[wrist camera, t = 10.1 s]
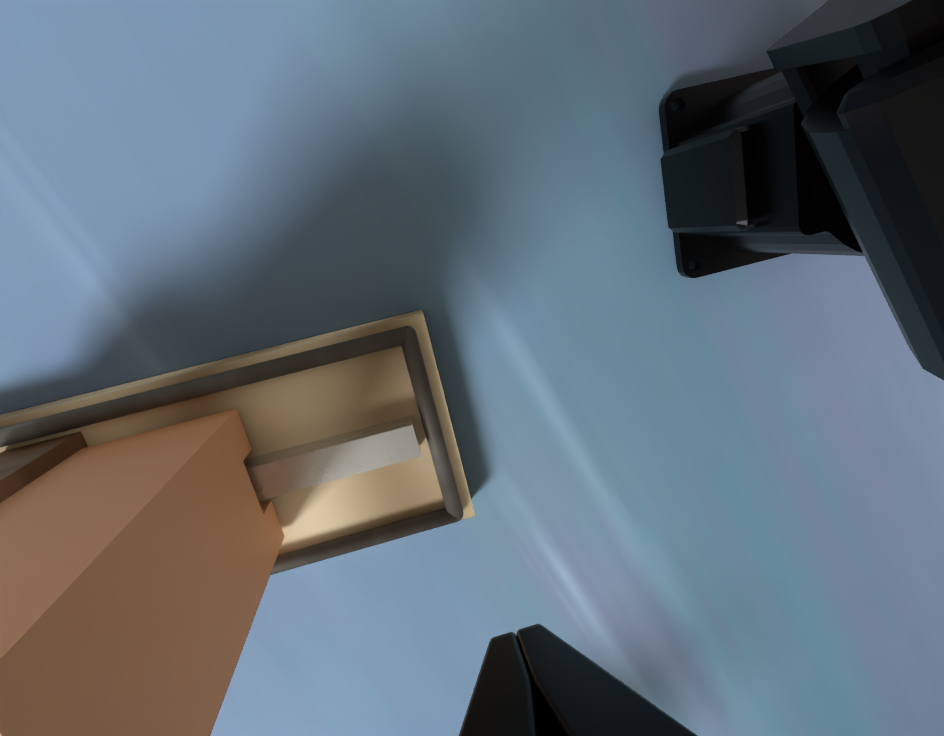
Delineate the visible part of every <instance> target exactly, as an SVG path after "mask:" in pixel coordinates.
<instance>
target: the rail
mask: <svg viewBox="0 0 944 736" xmlns="http://www.w3.org/2000/svg"><path fill="white" fill-rule="evenodd" d="M417 457H421V448H420V443H419V439H418V436H417V432H416V429H415V425H414V421H413V418H412V415H410V416H406V417H402V418H399V419H395V420H391V421H387V422H384V423H380V424H376V425H372V426H369V427H365V428H361V429H357V430H354V431H350V432H346V433H342V434H338V435H335V436H331V437H327V438H323V439H320V440H316V441H312V442H308V443H305V444H301V445H297V446H293V447H290V448H286V449H282V450H278V451H275V452H271V453H267V454H263V455H260V456H256V457H252V458H248V459H245V460H244V461H243V462H244V465H245V467H246V470H247V472H248V475H249V478H250V480H251V483H252V485H253V488H254V491H255V493H256V496H257V498H258V501H260V500H264V499H267V498H271V497H275V496H278V495H282V494H286V493H289V492H293V491H297V490H300V489H304V488H308V487H311V486H315V485H319V484H322V483H326V482H330V481H333V480H337V479H341V478H344V477H348V476H352V475H355V474H359V473H362V472H366V471H370V470H373V469H377V468H381V467H384V466H388V465H392V464H395V463H399V462H403V461H406V460H410V459H414V458H417Z"/></svg>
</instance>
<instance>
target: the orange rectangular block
mask: <svg viewBox="0 0 944 736" xmlns="http://www.w3.org/2000/svg"><path fill="white" fill-rule="evenodd" d="M250 451H251V446H250V443H249V441H248V438H247V435H246V433H245V430H244V428H243V425H242V422H241V420H240V417H239V414H238V412H237V409H233V410H230V411H226V412H222V413H218V414H214V415H210V416H206V417H202V418H198V419H195V420H191V421H187V422H183V423H179V424H175V425H171V426H167V427H164V428H160V429H156V430H152V431H148V432H144V433H140V434H136V435H133V436H129V437H125V438H121V439H117V440H113V441H109V442H105V443H101V444H98V445H94V446H90V447H86V448H82V449H81V450H79V451H78V452H76V453H75V454H73V455H72V456H70V457H68V458H67V459H65V460H64V461H62V462H61V463H59V464H58V465H56V466H55V467H53V468H52V469H50V470H49V471H47V472H46V473H44V474H43V475H41V476H40V477H38V478H37V479H35V480H34V481H32V482H31V483H29V484H28V485H26V486H25V487H23V488H22V489H20V490H19V491H17V492H16V493H14V494H13V495H11V496H10V497H8V498H7V499H5V500H4V501H2V502H1V503H0V736H210V735H211V732H212V729H213V726H214V724H215V721H216V718H217V716H218V713H219V710H220V708H221V705H222V702H223V700H224V697H225V694H226V692H227V689H228V686H229V684H230V681H231V678H232V676H233V673H234V670H235V668H236V665H237V662H238V660H239V657H240V654H241V652H242V649H243V646H244V644H245V641H246V638H247V636H248V633H249V630H250V628H251V625H252V622H253V620H254V617H255V614H256V612H257V609H258V606H259V604H260V601H261V598H262V596H263V593H264V590H265V587H266V585H267V582H268V579H269V577H270V574H271V571H272V569H273V566H274V563H275V561H276V558H277V555H278V553H279V550H280V547H281V545H282V542H283V539H284V537H285V536H284V533H283V531H282V528H281V525H280V523H279V520H278V517H277V515H276V512H275V509H274V507H273V504H272V502H271V500H269V501H266V502H262V503H259V501H258V498H257V496H256V493H255V491H254V488H253V485H252V483H251V480H250V478H249V475H248V472H247V470H246V467H245V465H244V462H243V461H244V459H245V458H246V457H247V455H248V454H249V452H250Z"/></svg>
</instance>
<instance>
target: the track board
mask: <svg viewBox="0 0 944 736" xmlns="http://www.w3.org/2000/svg"><path fill="white" fill-rule="evenodd" d="M233 409H237V412H238V414H239V417H240V420H241V422H242V425H243V428H244V430H245V433H246V435H247V438H248V441H249V443H250V446H251V451H250V452H249V454H248V455H247V457H246V458H245V459H248V458H252V457H256V456H260V455H263V454H267V453H271V452H275V451H278V450H282V449H286V448H290V447H293V446H297V445H301V444H305V443H308V442H312V441H316V440H320V439H323V438H327V437H331V436H335V435H338V434H342V433H346V432H350V431H354V430H357V429H361V428H365V427H369V426H372V425H376V424H380V423H384V422H387V421H391V420H395V419H399V418H402V417H406V416H410V415H412V418H413V421H414V425H415V429H416V432H417V436H418V439H419V443H420V448H421V457H417V458H414V459H410V460H406V461H403V462H399V463H395V464H392V465H388V466H384V467H381V468H377V469H373V470H370V471H366V472H362V473H359V474H355V475H352V476H348V477H344V478H341V479H337V480H333V481H330V482H326V483H322V484H319V485H315V486H311V487H308V488H304V489H300V490H297V491H293V492H289V493H286V494H282V495H278V496H275V497H271V498H267V499H264V500H260V501H259V503H262V502H266V501H269V500H271V502H272V504H273V507H274V509H275V512H276V515H277V517H278V520H279V523H280V525H281V528H282V531H283V533H284V536H285V537H284V539H283V542H282V545H281V547H280V550H279V553H278V555H277V558H276V561H275V563H274V566H273V569H272V571H271V574H270V575H272V574H276V573H279V572H283V571H286V570H290V569H293V568H297V567H300V566H304V565H307V564H311V563H314V562H318V561H321V560H325V559H328V558H332V557H335V556H339V555H342V554H346V553H349V552H353V551H356V550H360V549H363V548H367V547H370V546H374V545H377V544H381V543H384V542H388V541H391V540H395V539H398V538H402V537H405V536H409V535H412V534H416V533H419V532H423V531H426V530H430V529H433V528H437V527H440V526H444V525H447V524H451V523H454V522H458V521H460V520H462V519H465V518H469V517H472V516H475V513H474V509H473V505H472V501H471V497H470V493H469V489H468V486H467V482H466V478H465V474H464V470H463V466H462V462H461V458H460V454H459V450H458V447H457V443H456V439H455V435H454V431H453V427H452V423H451V419H450V415H449V411H448V408H447V404H446V400H445V396H444V392H443V388H442V384H441V380H440V376H439V372H438V369H437V365H436V361H435V357H434V353H433V349H432V345H431V341H430V337H429V333H428V329H427V326H426V322H425V318H424V314H423V311H422V310H418V311H414V312H410V313H406V314H402V315H398V316H394V317H390V318H386V319H382V320H378V321H374V322H370V323H366V324H362V325H358V326H354V327H350V328H346V329H342V330H338V331H334V332H330V333H326V334H322V335H318V336H314V337H310V338H306V339H302V340H298V341H294V342H290V343H286V344H282V345H278V346H274V347H270V348H266V349H262V350H258V351H254V352H250V353H246V354H242V355H237V356H233V357H229V358H225V359H221V360H217V361H213V362H209V363H205V364H201V365H197V366H193V367H189V368H185V369H181V370H177V371H173V372H169V373H165V374H161V375H157V376H153V377H149V378H145V379H141V380H137V381H133V382H129V383H125V384H121V385H117V386H113V387H109V388H105V389H101V390H97V391H93V392H89V393H85V394H81V395H77V396H73V397H69V398H65V399H61V400H57V401H53V402H49V403H45V404H41V405H37V406H33V407H29V408H25V409H21V410H17V411H13V412H9V413H5V414H1V415H0V453H1V452H3V451H5V450H9V449H13V448H17V447H21V446H25V445H29V444H33V443H37V442H41V441H45V440H49V439H52V438H56V437H60V436H64V435H68V434H72V433H76V432H80V431H81V433H82V435H83V437H84V439H85V441H86V443H87V445H88V447H90V446H94V445H98V444H101V443H105V442H109V441H113V440H117V439H121V438H125V437H129V436H133V435H136V434H140V433H144V432H148V431H152V430H156V429H160V428H164V427H167V426H171V425H175V424H179V423H183V422H187V421H191V420H195V419H198V418H202V417H206V416H210V415H214V414H218V413H222V412H226V411H230V410H233ZM245 459H244V460H245Z"/></svg>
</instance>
